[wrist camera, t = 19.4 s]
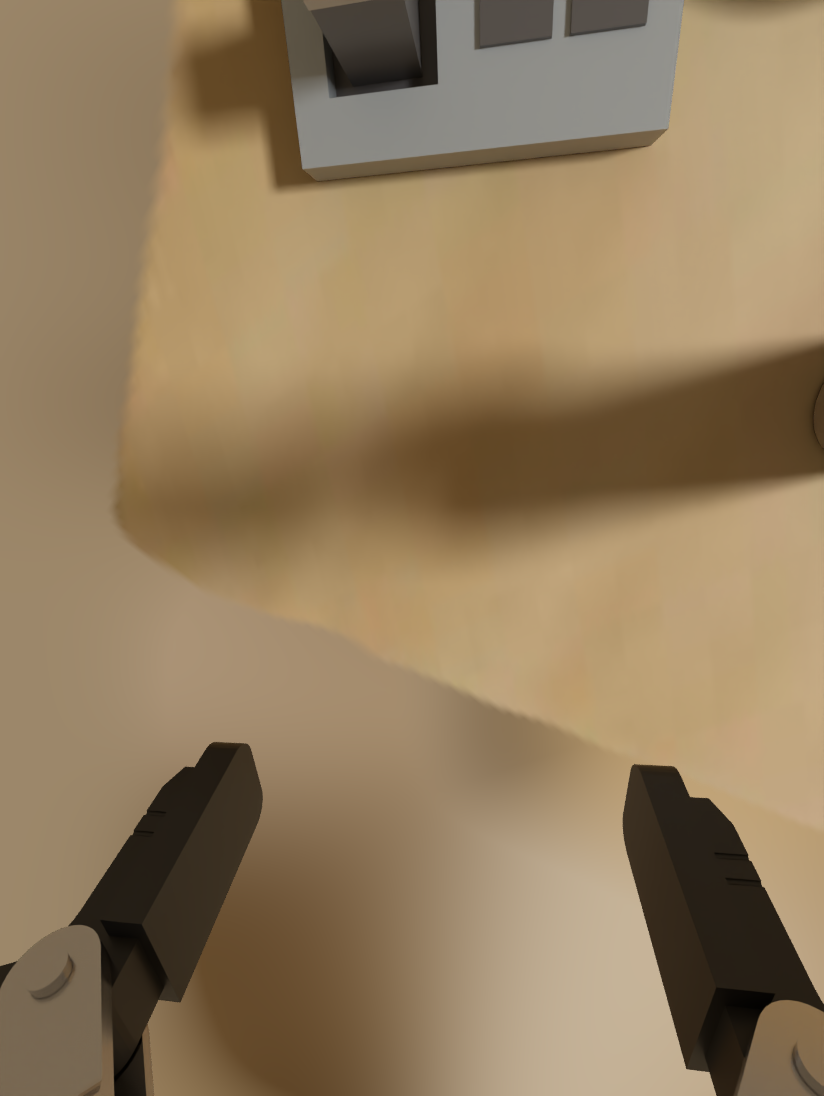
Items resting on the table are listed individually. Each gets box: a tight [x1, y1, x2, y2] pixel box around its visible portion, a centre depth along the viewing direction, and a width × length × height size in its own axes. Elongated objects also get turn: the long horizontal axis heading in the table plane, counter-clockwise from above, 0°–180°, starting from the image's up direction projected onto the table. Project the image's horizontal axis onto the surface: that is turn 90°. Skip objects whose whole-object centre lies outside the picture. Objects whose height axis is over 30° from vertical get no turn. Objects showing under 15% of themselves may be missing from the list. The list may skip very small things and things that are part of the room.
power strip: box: [281, 0, 684, 181], centre depth 26 cm, size 20×12×3 cm, turn 94°
